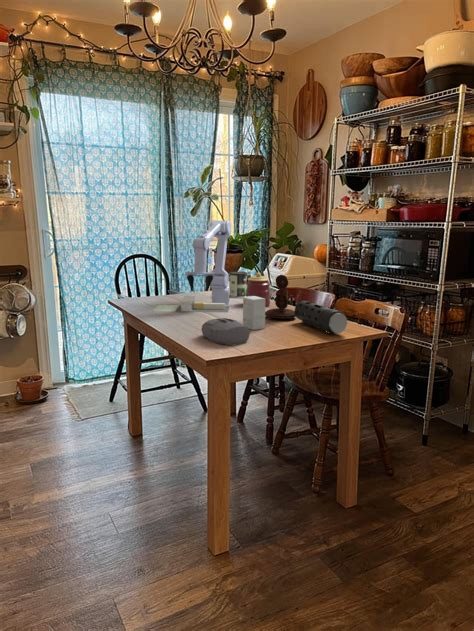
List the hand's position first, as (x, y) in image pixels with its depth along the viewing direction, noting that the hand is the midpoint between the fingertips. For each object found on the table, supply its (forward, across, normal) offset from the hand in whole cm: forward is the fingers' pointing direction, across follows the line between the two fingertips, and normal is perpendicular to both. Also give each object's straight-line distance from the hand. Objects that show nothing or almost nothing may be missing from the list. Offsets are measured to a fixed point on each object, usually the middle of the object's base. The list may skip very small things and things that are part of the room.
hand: (199, 291), depth 236 cm
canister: (+8, +35, +8) cm, 37 cm away
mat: (+10, -1, +8) cm, 13 cm away
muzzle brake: (+12, +40, -48) cm, 63 cm away
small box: (+12, +14, -37) cm, 41 cm away
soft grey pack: (+14, -4, -51) cm, 53 cm away
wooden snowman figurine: (+10, +33, -23) cm, 42 cm away
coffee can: (+7, +34, +38) cm, 51 cm away
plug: (+9, +7, +5) cm, 13 cm away
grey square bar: (+10, -3, +9) cm, 14 cm away
